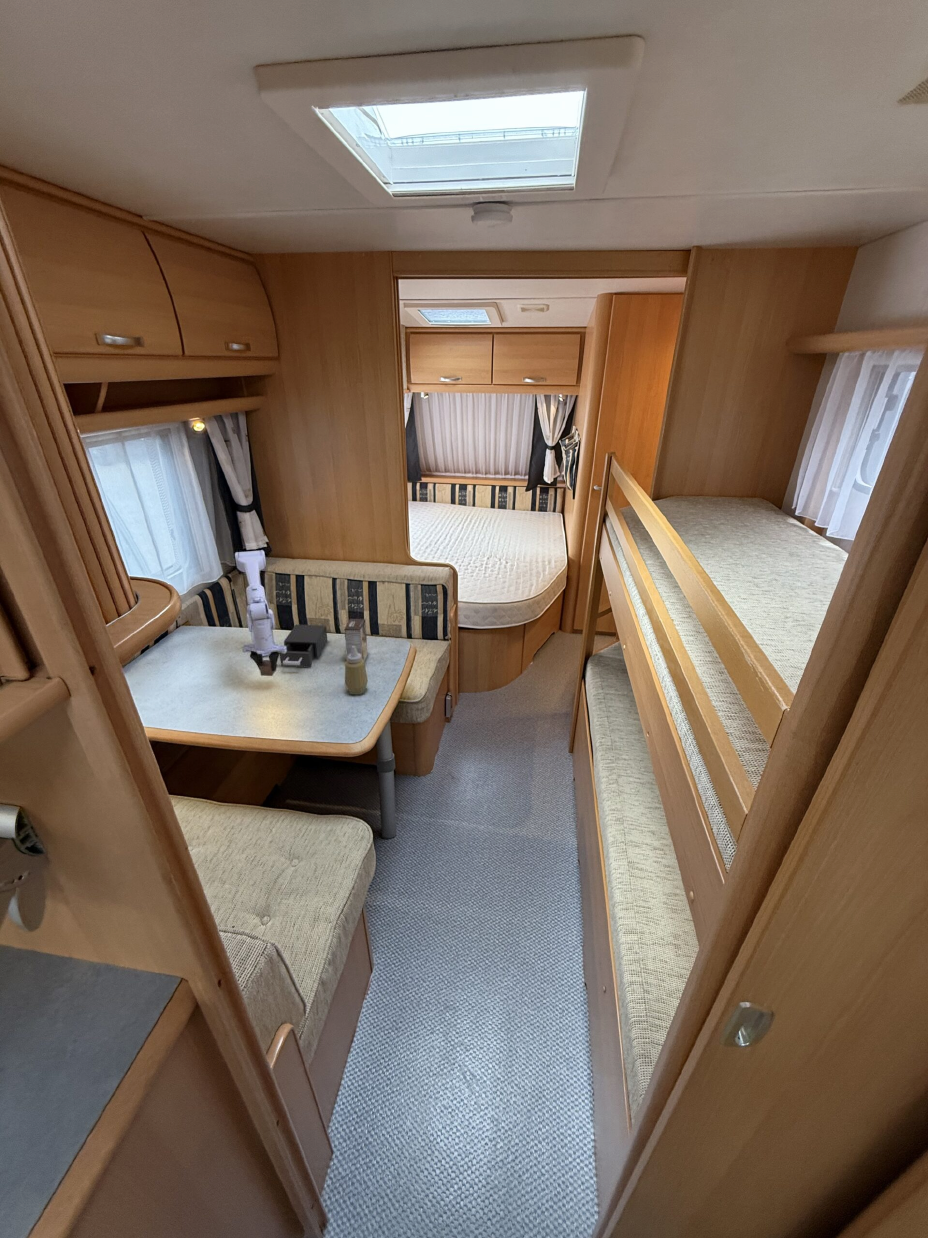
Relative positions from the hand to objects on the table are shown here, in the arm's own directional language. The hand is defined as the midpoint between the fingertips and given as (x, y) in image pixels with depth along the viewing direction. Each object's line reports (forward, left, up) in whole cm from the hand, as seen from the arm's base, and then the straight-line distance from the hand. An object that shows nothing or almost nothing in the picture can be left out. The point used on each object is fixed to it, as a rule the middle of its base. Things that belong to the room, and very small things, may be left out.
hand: (268, 669), depth 173 cm
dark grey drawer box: (-16, +23, -8) cm, 29 cm away
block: (0, 0, -1) cm, 1 cm away
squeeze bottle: (+22, +22, -8) cm, 32 cm away
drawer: (-9, +16, -7) cm, 20 cm away
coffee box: (+4, +34, -8) cm, 35 cm away
